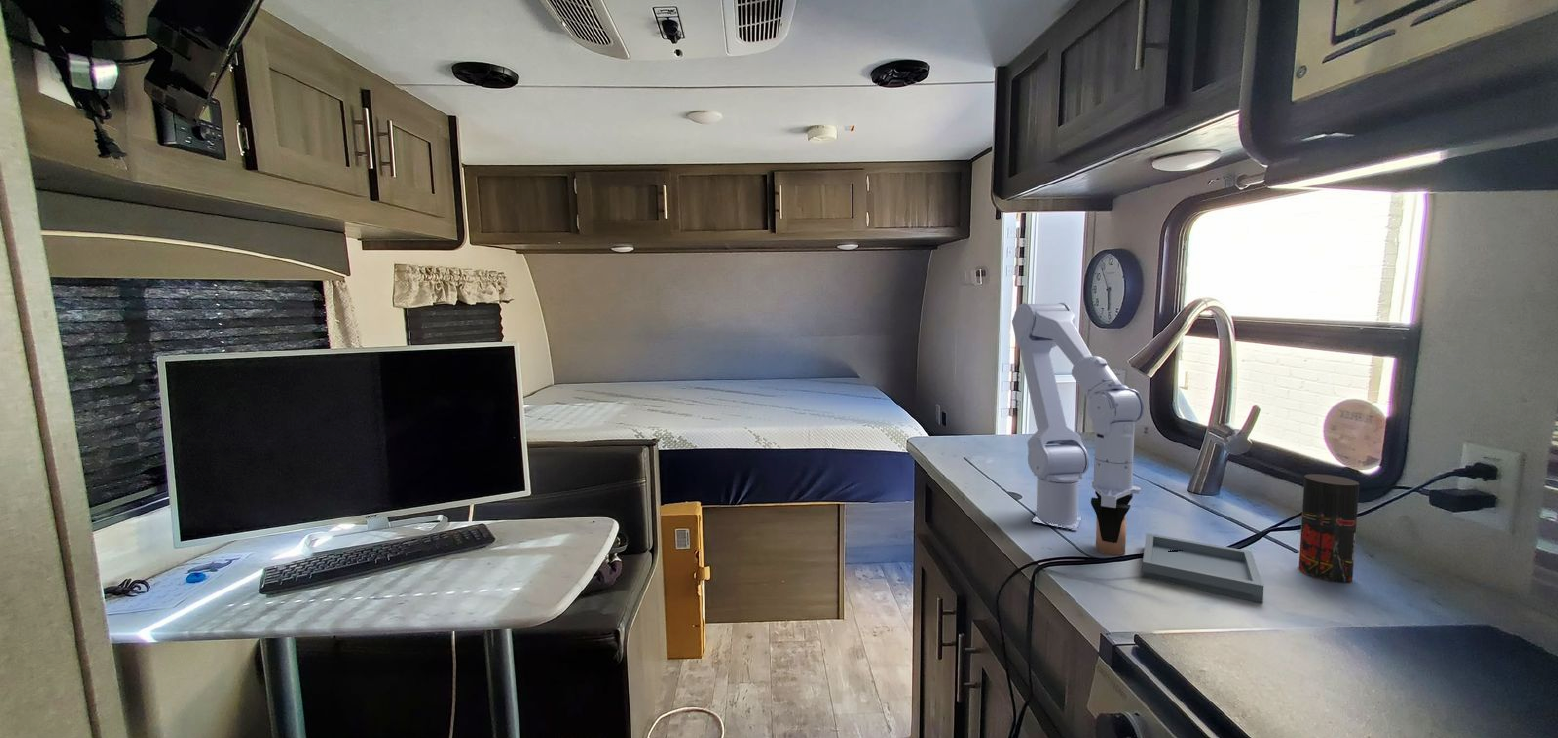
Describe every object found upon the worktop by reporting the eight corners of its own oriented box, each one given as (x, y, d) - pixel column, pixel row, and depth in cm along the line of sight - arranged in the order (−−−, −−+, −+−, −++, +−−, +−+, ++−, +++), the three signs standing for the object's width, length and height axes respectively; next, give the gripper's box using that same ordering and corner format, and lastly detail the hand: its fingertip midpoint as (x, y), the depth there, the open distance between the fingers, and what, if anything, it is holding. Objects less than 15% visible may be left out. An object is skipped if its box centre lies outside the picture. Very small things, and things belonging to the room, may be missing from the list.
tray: (1146, 546, 96) (1146, 533, 96) (1250, 566, 88) (1251, 551, 87) (1142, 577, 84) (1143, 561, 84) (1262, 603, 76) (1263, 585, 76)
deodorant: (1293, 562, 89) (1299, 472, 88) (1344, 570, 86) (1350, 477, 85) (1304, 577, 84) (1311, 481, 83) (1359, 586, 81) (1366, 487, 79)
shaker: (1097, 543, 98) (1098, 502, 97) (1126, 548, 95) (1127, 506, 95) (1094, 551, 94) (1095, 509, 94) (1124, 557, 92) (1125, 514, 91)
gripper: (1139, 472, 85) (1136, 556, 86) (1143, 454, 97) (1140, 528, 98) (1087, 466, 89) (1085, 546, 90) (1097, 449, 101) (1095, 520, 102)
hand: (1110, 536), depth 94 cm, fingers closed on shaker, 4 cm apart
